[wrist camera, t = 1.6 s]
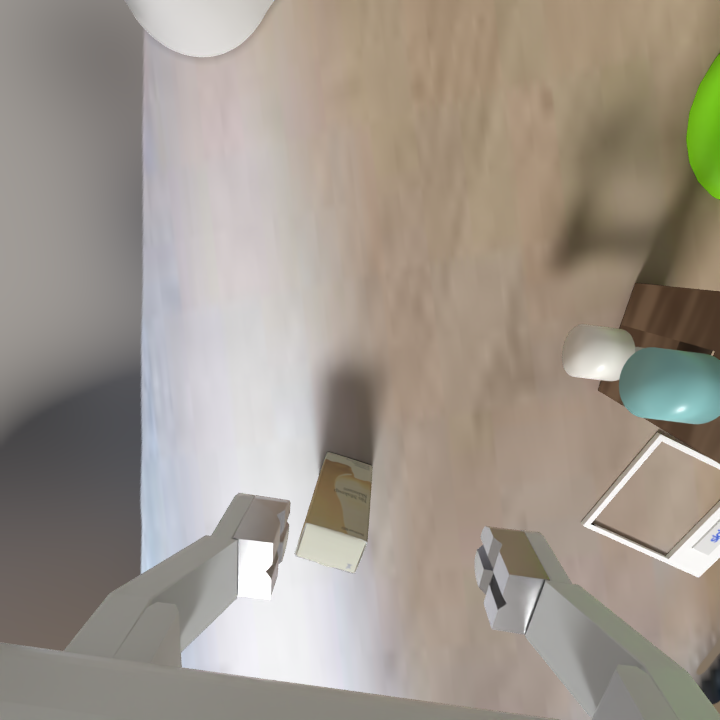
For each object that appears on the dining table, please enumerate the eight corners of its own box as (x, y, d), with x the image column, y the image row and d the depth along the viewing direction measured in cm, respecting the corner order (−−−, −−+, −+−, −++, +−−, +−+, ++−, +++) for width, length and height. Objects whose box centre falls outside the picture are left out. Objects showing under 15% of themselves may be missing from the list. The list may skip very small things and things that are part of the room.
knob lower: (556, 367, 31) (584, 384, 27) (571, 319, 30) (603, 330, 25) (696, 384, 31) (746, 404, 27) (716, 337, 30) (773, 351, 25)
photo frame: (699, 578, 45) (583, 526, 43) (692, 571, 46) (578, 520, 44) (786, 496, 40) (661, 435, 39) (776, 489, 42) (654, 430, 40)
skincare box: (373, 464, 43) (372, 542, 31) (363, 492, 44) (357, 576, 32) (324, 449, 43) (304, 522, 31) (315, 477, 44) (293, 558, 32)
